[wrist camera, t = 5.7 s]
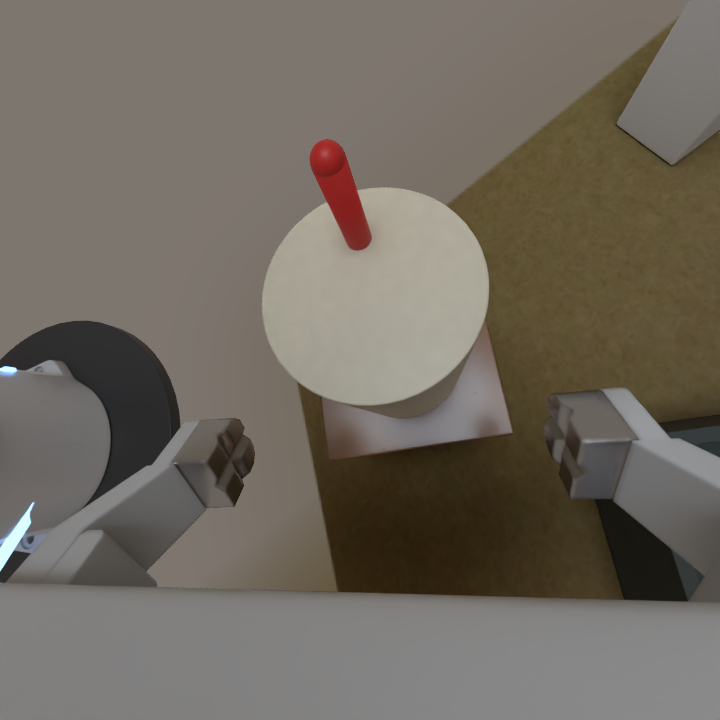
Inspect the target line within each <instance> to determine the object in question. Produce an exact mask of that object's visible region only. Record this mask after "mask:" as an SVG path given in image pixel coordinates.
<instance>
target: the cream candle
mask: <svg viewBox="0 0 720 720" xmlns="http://www.w3.org/2000/svg"><path fill="white" fill-rule="evenodd" d="M310 166H311V169H312V171H313V173H314V175H315V177H316V179H317V181H318V184H319V186H320V188H321V190H322V192H323V194H324V196H325V199H326V201H327V202H326V203H324V204H323V205H321V206H319V207H317V208H316V209H315V210H313V211H311V212H310V213H309V214H308V215H306V216H305V217H304V218H303V219H302V220H301V221H300V222H298V223H297V224H296V225H295V226H294V227H293V228H292V230H291V231H290V232H289V233H288V234H287V236H286V237H285V238H284V240H283V241H282V243H281V244H280V246H279V247H278V249H277V250H276V253H275V254H274V257H273V259H272V261H271V263H270V266H269V268H268V271H267V274H266V278H265V282H264V287H263V295H262V316H263V322H264V328H265V332H266V335H267V338H268V341H269V343H270V346H271V348H272V350H273V352H274V354H275V356H276V357H277V359H278V360H279V362H280V364H281V365H282V366H283V367H284V369H285V370H286V371H287V372H288V373H289V374H290V375H291V376H292V377H293V378H294V379H295V380H296V381H297V382H298V383H300V384H301V385H302V386H304V387H305V388H307V389H308V390H310V391H311V392H313V393H315V394H317V395H319V396H321V397H324V398H326V399H329V400H332V401H335V402H338V403H342V404H345V405H349V406H352V407H356V408H359V409H363V410H367V411H370V412H374V413H377V414H381V415H384V416H388V417H394V418H409V417H415V416H419V415H422V414H424V413H427V412H429V411H431V410H433V409H434V408H436V407H437V406H439V405H440V404H441V403H442V402H443V401H444V400H445V399H446V398H447V397H448V396H449V395H450V393H451V392H452V391H453V389H454V387H455V385H456V383H457V381H458V379H459V377H460V375H461V373H462V370H463V368H464V366H465V364H466V362H467V360H468V357H469V355H470V353H471V351H472V349H473V347H474V344H475V342H476V340H477V338H478V336H479V333H480V331H481V328H482V326H483V324H484V320H485V316H486V313H487V309H488V301H489V275H488V270H487V264H486V261H485V258H484V255H483V252H482V249H481V247H480V245H479V243H478V241H477V239H476V237H475V236H474V234H473V233H472V231H471V230H470V229H469V227H468V226H467V225H466V223H465V222H464V221H463V220H462V219H461V218H460V217H459V216H458V215H457V214H456V213H454V212H453V211H452V210H451V209H449V208H448V207H447V206H445V205H444V204H442V203H440V202H438V201H437V200H435V199H433V198H431V197H428V196H426V195H424V194H421V193H417V192H414V191H410V190H406V189H399V188H380V187H379V188H369V189H362V190H358V191H357V189H356V186H355V183H354V179H353V176H352V173H351V170H350V167H349V164H348V161H347V158H346V155H345V152H344V150H343V148H342V147H341V146H340V145H339V144H338V143H336V142H335V141H333V140H328V139H326V140H321V141H319V142H318V143H317V144H315V146H314V147H313V149H312V151H311V154H310Z"/></svg>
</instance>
